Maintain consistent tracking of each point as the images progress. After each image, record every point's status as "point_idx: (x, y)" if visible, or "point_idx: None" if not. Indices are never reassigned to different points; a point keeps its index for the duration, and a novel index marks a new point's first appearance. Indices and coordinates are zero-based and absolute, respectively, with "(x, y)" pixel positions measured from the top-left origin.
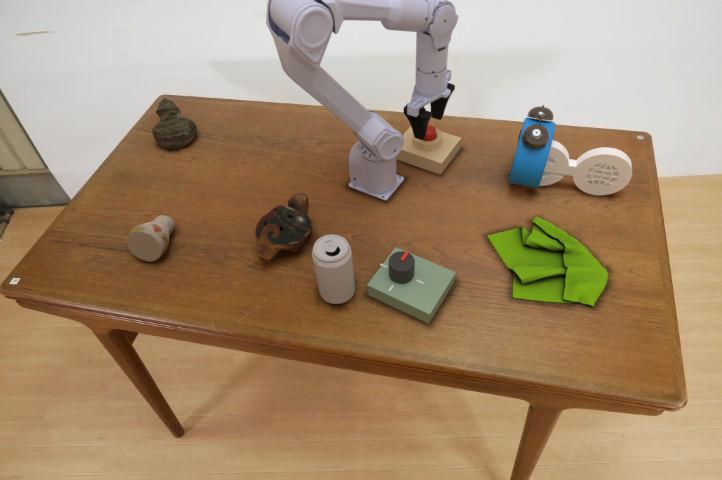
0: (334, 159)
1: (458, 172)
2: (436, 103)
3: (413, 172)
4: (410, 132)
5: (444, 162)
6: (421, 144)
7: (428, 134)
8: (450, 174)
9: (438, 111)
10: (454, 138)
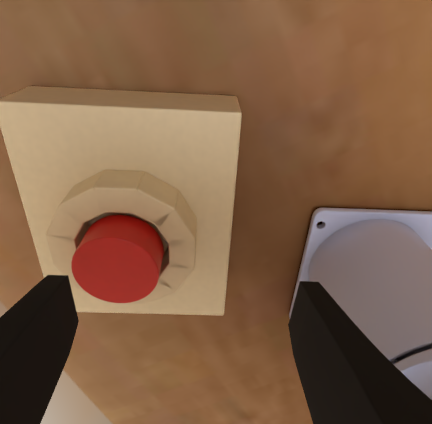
0: (291, 378)
1: (182, 21)
2: (15, 421)
3: (263, 195)
4: None
5: (204, 105)
6: (195, 247)
7: (148, 257)
8: (213, 54)
9: (44, 342)
10: (24, 133)
